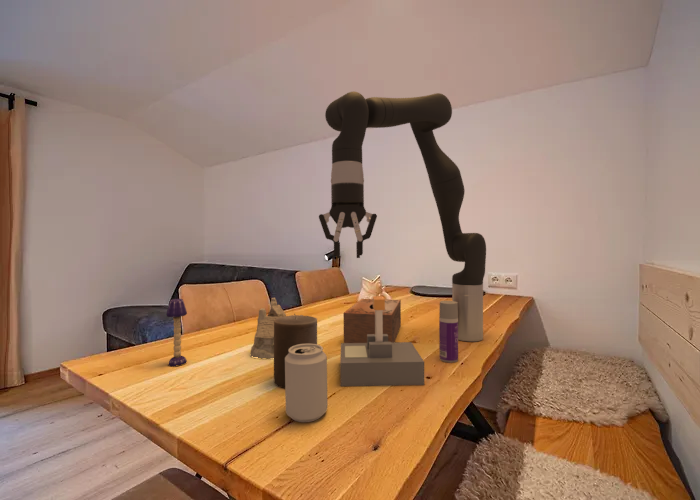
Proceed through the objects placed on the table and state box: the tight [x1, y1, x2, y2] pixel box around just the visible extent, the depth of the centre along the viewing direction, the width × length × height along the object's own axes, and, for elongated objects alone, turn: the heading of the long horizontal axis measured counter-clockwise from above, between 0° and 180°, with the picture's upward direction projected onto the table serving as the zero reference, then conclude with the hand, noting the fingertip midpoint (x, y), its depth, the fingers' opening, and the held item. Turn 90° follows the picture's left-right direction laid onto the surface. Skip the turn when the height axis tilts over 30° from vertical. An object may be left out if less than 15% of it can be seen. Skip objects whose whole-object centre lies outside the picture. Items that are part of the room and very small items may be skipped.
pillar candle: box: [273, 313, 318, 389], centre depth 75 cm, size 10×10×15 cm
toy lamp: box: [166, 298, 188, 367], centre depth 85 cm, size 5×5×17 cm
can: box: [284, 343, 328, 423], centre depth 60 cm, size 8×8×12 cm
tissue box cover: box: [343, 298, 402, 343], centre depth 110 cm, size 26×14×10 cm, turn 166°
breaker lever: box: [372, 295, 386, 342], centre depth 78 cm, size 4×2×12 cm, turn 1°
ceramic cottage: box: [249, 297, 304, 358], centre depth 95 cm, size 16×16×15 cm
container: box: [438, 300, 459, 364], centre depth 86 cm, size 5×5×15 cm
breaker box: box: [339, 334, 425, 387], centre depth 78 cm, size 14×18×8 cm
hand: (348, 257), depth 78 cm, fingers open, 4 cm apart
